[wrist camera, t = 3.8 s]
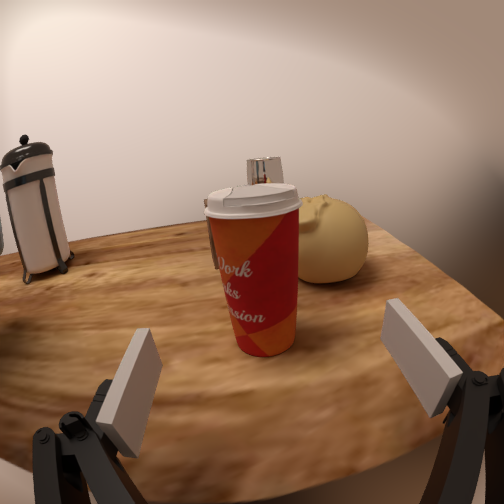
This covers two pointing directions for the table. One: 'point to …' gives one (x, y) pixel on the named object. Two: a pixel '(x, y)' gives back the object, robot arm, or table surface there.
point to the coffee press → (35, 208)
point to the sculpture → (330, 240)
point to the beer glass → (264, 171)
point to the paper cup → (258, 262)
